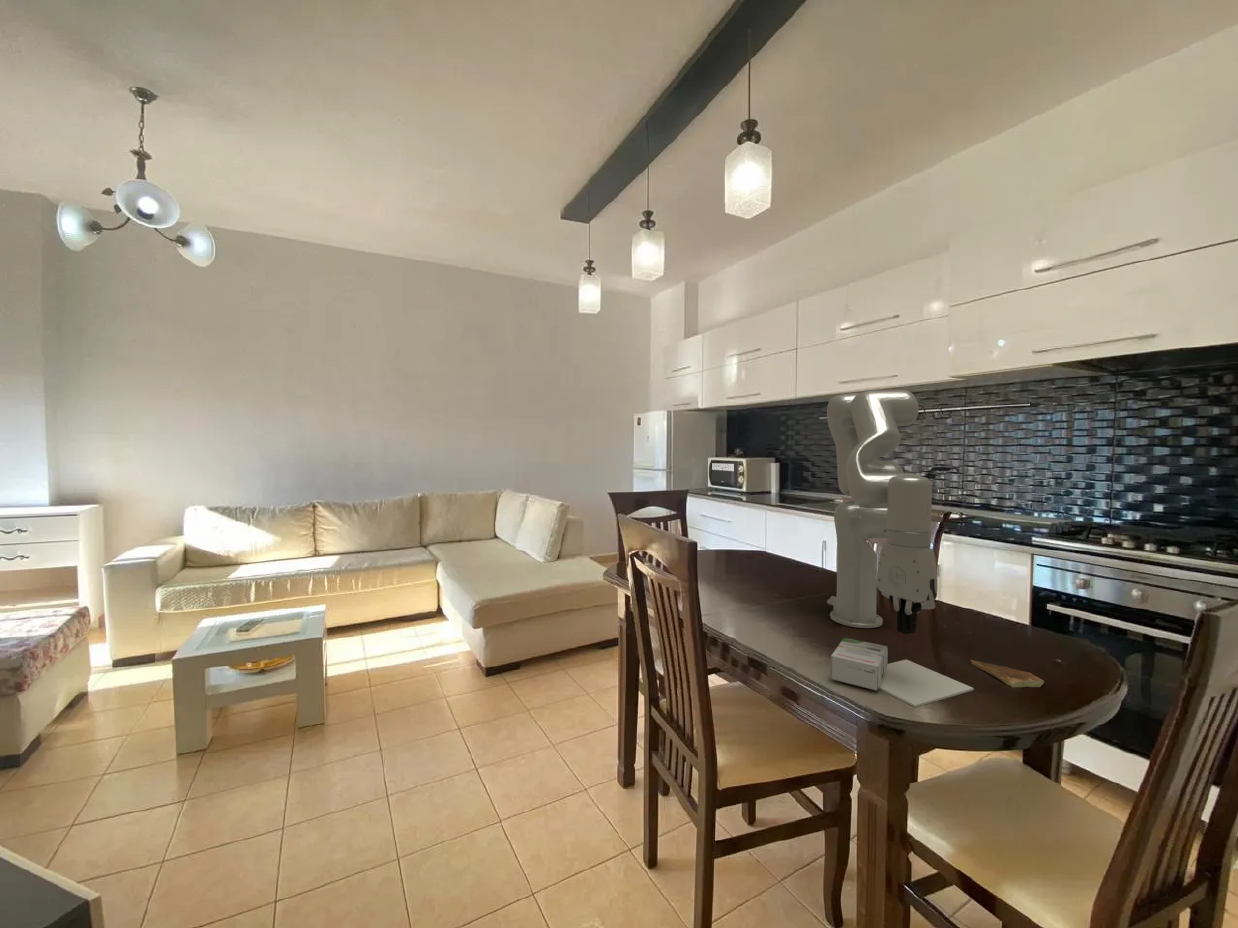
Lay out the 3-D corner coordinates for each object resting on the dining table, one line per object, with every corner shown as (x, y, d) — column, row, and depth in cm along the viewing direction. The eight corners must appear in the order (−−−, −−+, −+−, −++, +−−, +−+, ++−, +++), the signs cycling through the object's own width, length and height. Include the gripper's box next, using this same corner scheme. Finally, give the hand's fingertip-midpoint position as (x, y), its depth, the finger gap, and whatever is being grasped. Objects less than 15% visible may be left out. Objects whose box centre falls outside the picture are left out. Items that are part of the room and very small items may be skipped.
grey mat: (850, 674, 103) (850, 672, 103) (906, 661, 109) (906, 659, 109) (915, 707, 90) (915, 705, 90) (973, 690, 96) (973, 688, 96)
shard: (969, 665, 108) (969, 657, 108) (1004, 665, 108) (1004, 656, 108) (1010, 689, 97) (1010, 680, 97) (1049, 689, 97) (1049, 680, 97)
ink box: (843, 659, 109) (829, 680, 99) (843, 636, 109) (830, 655, 99) (887, 669, 104) (878, 692, 95) (888, 645, 104) (878, 665, 94)
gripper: (862, 534, 105) (860, 622, 105) (931, 547, 91) (929, 648, 92) (888, 531, 108) (886, 617, 108) (959, 544, 94) (957, 642, 95)
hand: (906, 631), depth 100 cm, fingers closed
